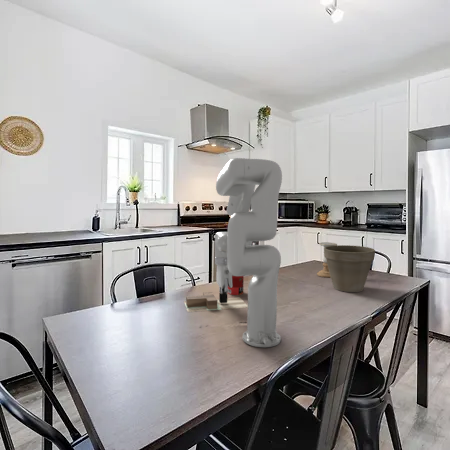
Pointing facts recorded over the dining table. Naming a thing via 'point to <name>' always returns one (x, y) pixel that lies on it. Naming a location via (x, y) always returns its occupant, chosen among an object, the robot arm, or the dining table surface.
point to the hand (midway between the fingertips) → (223, 302)
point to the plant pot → (349, 266)
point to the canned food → (236, 285)
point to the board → (224, 305)
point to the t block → (202, 301)
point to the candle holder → (325, 262)
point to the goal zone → (206, 307)
